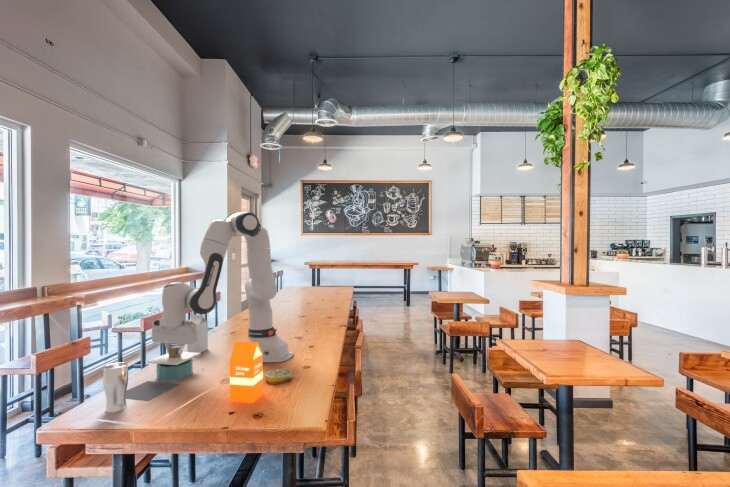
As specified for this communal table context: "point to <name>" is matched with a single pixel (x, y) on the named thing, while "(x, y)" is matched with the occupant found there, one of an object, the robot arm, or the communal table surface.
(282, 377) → the decorated donut
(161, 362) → the lid
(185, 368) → the bowl
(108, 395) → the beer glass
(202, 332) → the milk carton
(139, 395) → the mat
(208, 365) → the communal table surface
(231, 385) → the orange juice
